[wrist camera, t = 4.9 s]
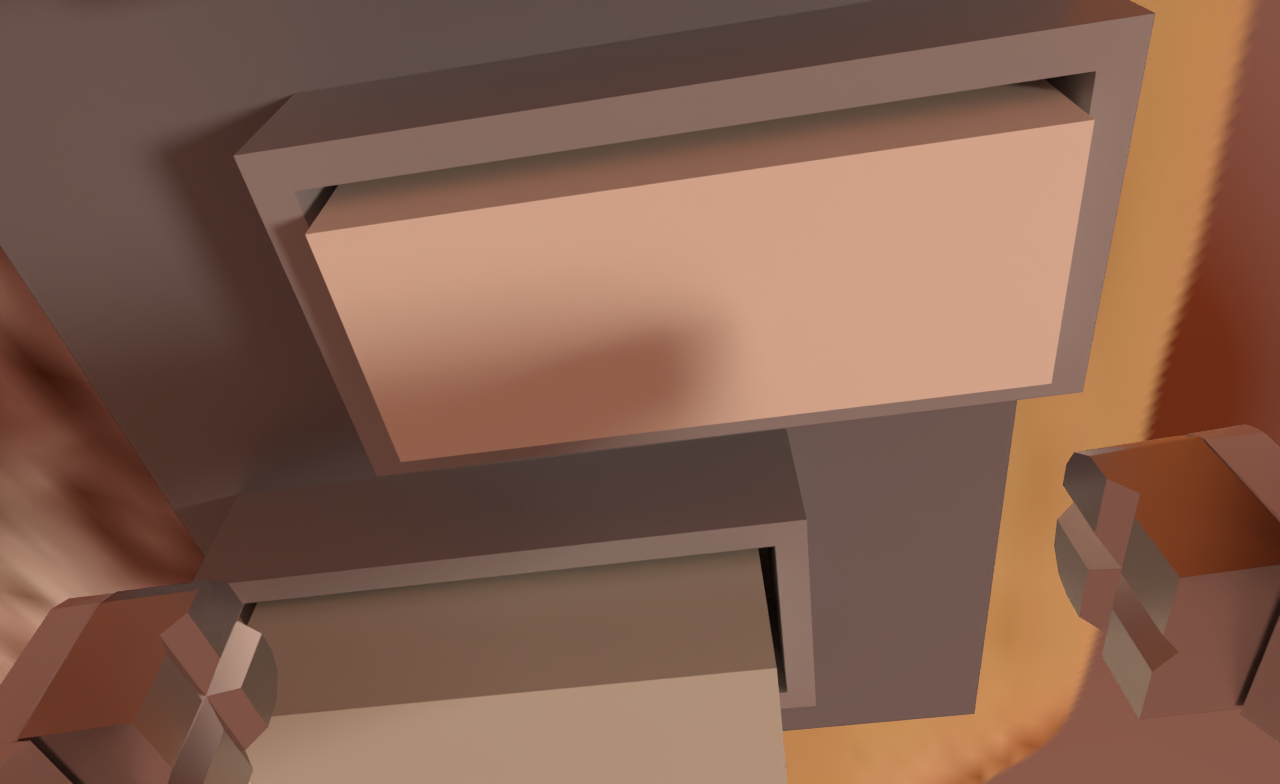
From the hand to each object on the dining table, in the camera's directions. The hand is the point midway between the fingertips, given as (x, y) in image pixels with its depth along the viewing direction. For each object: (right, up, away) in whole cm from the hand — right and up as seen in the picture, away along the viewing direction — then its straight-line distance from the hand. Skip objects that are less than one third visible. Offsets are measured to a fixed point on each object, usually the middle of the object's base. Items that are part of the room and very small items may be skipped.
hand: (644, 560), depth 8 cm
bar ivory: (+1, +4, +6) cm, 8 cm away
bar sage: (-2, -3, +10) cm, 11 cm away
